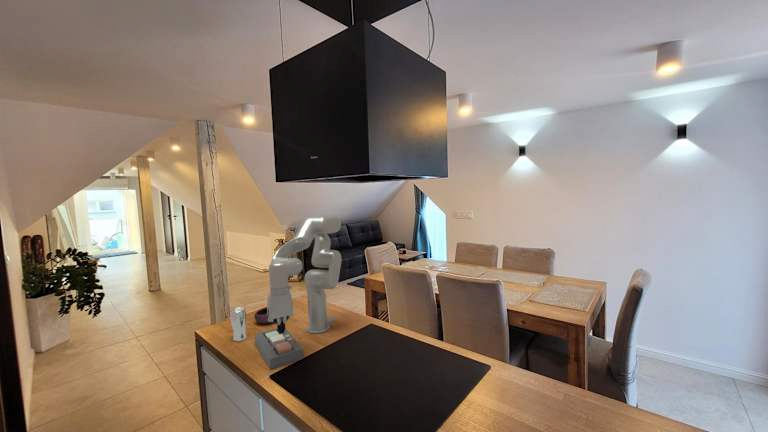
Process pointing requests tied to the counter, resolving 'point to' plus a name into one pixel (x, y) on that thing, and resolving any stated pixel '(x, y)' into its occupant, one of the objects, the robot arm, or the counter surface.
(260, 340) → the keyguard board
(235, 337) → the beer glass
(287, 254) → the robot arm
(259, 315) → the bowl
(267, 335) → the sage key
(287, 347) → the terracotta key
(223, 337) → the counter surface
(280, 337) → the white key
